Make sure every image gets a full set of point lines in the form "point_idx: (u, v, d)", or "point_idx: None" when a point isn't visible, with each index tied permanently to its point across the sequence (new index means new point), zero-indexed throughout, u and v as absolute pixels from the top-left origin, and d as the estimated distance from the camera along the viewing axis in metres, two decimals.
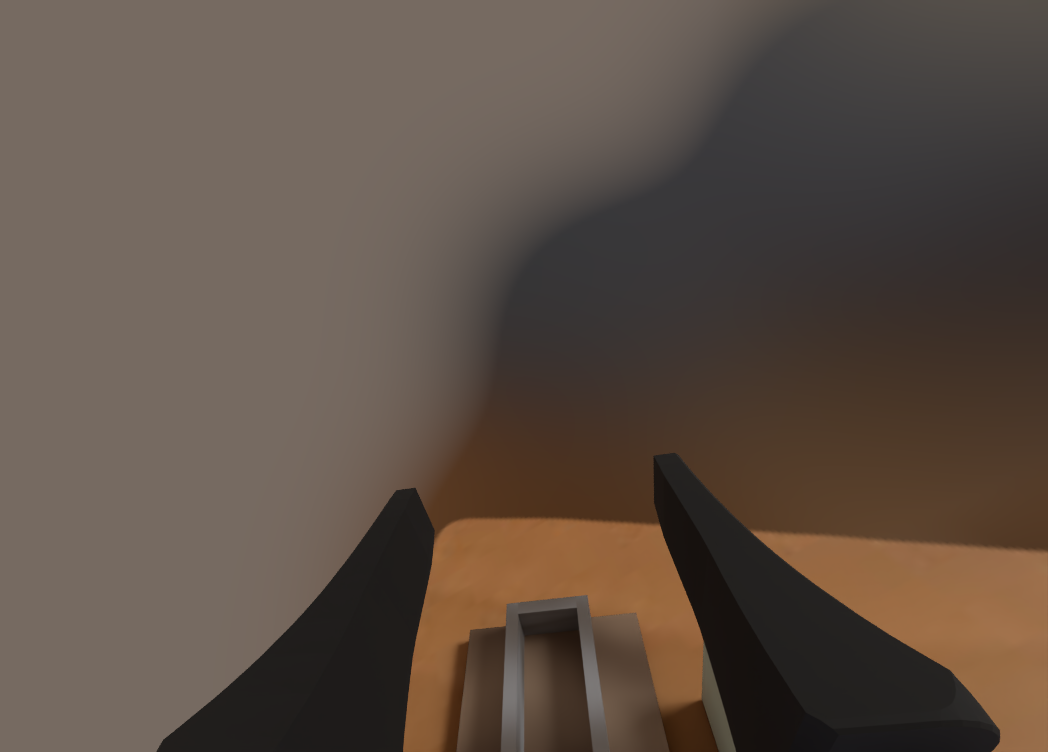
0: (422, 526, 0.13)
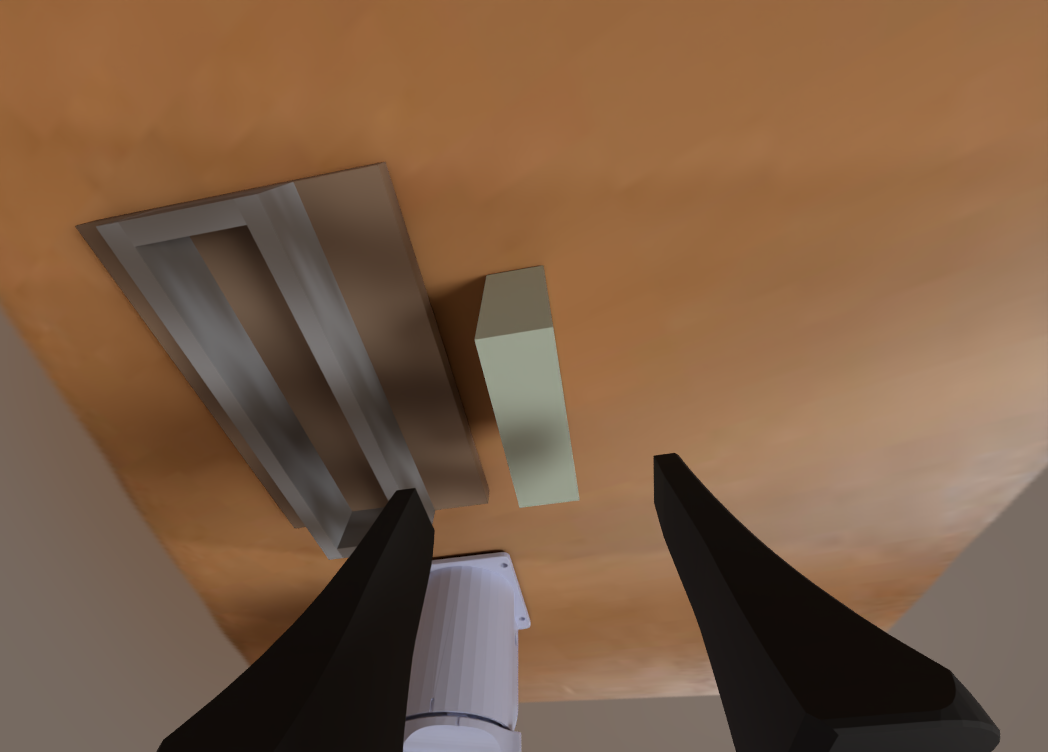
0: (422, 526, 0.13)
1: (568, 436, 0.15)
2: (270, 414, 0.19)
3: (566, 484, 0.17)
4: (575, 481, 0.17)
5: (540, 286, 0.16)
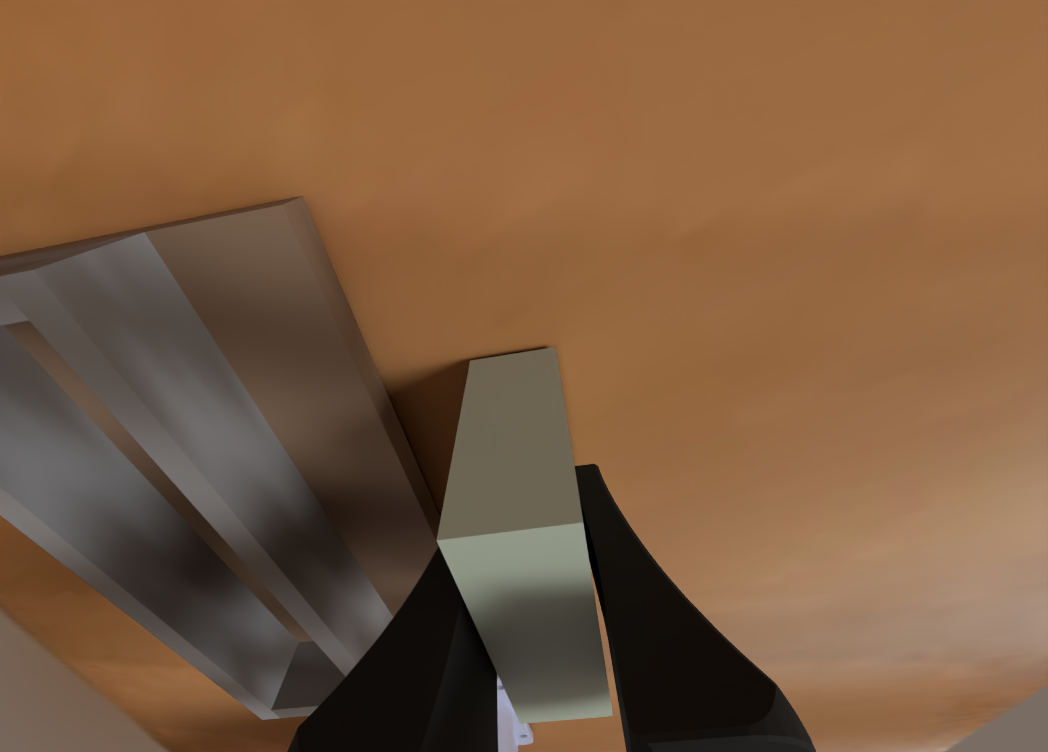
0: None
1: (601, 653, 0.09)
2: (156, 557, 0.13)
3: (594, 700, 0.11)
4: (608, 698, 0.11)
5: (553, 397, 0.10)
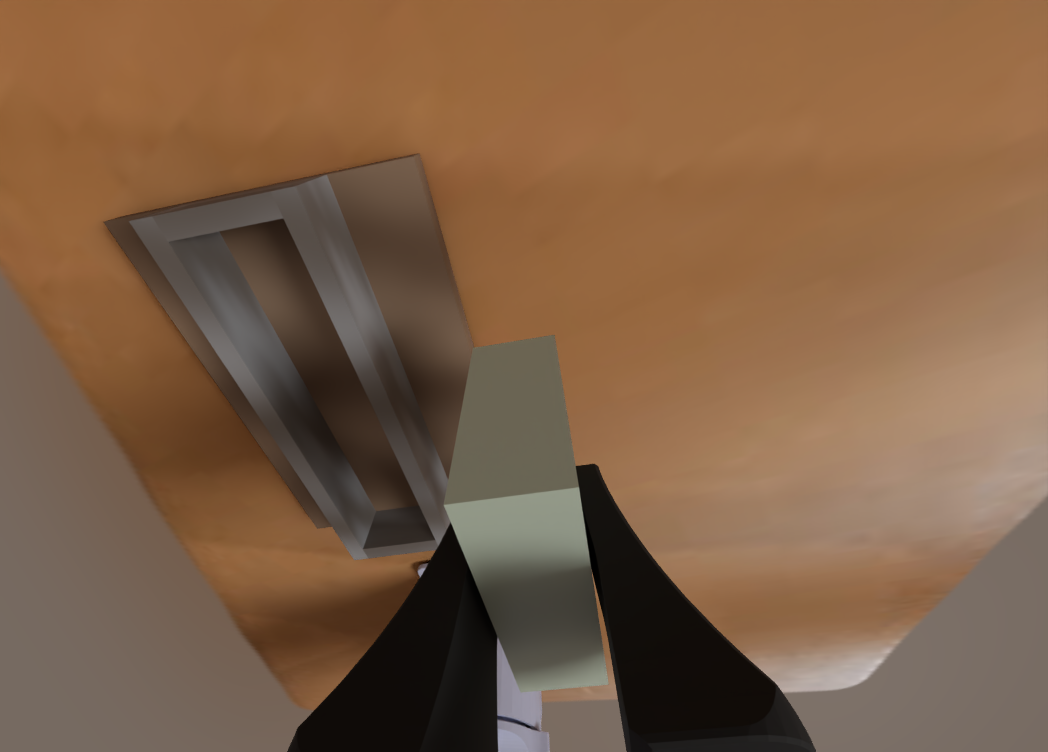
0: None
1: (597, 619, 0.10)
2: (298, 413, 0.19)
3: (590, 668, 0.11)
4: (604, 665, 0.11)
5: (552, 379, 0.11)
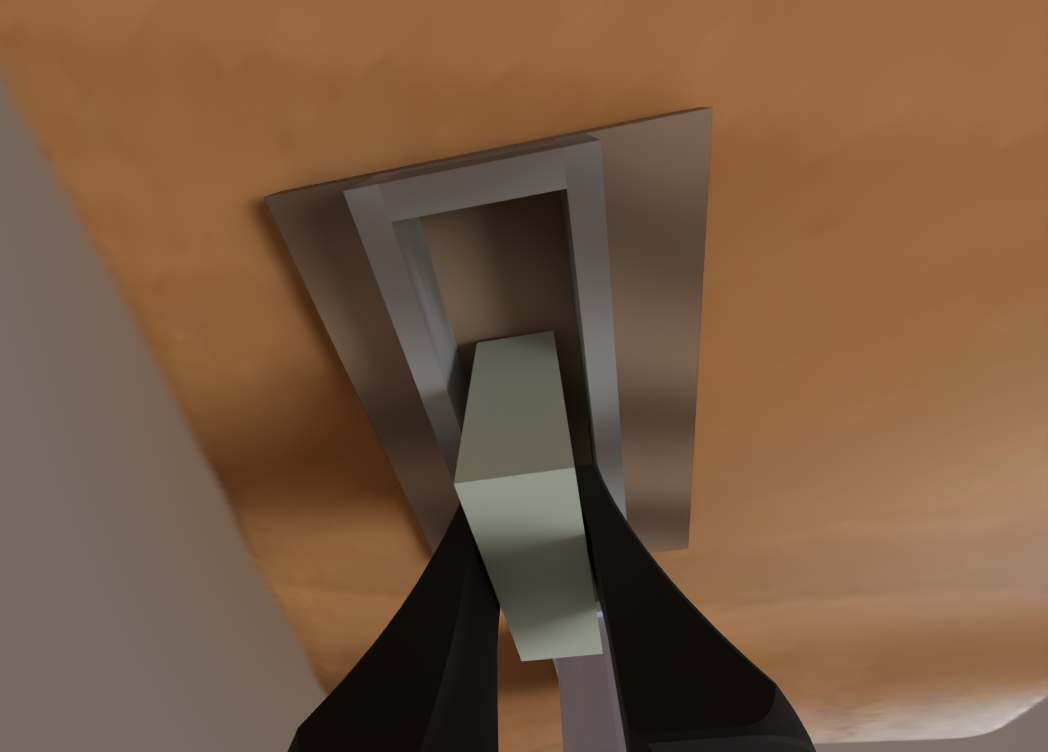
0: None
1: (592, 590, 0.11)
2: None
3: (586, 638, 0.12)
4: (598, 635, 0.12)
5: (551, 371, 0.12)
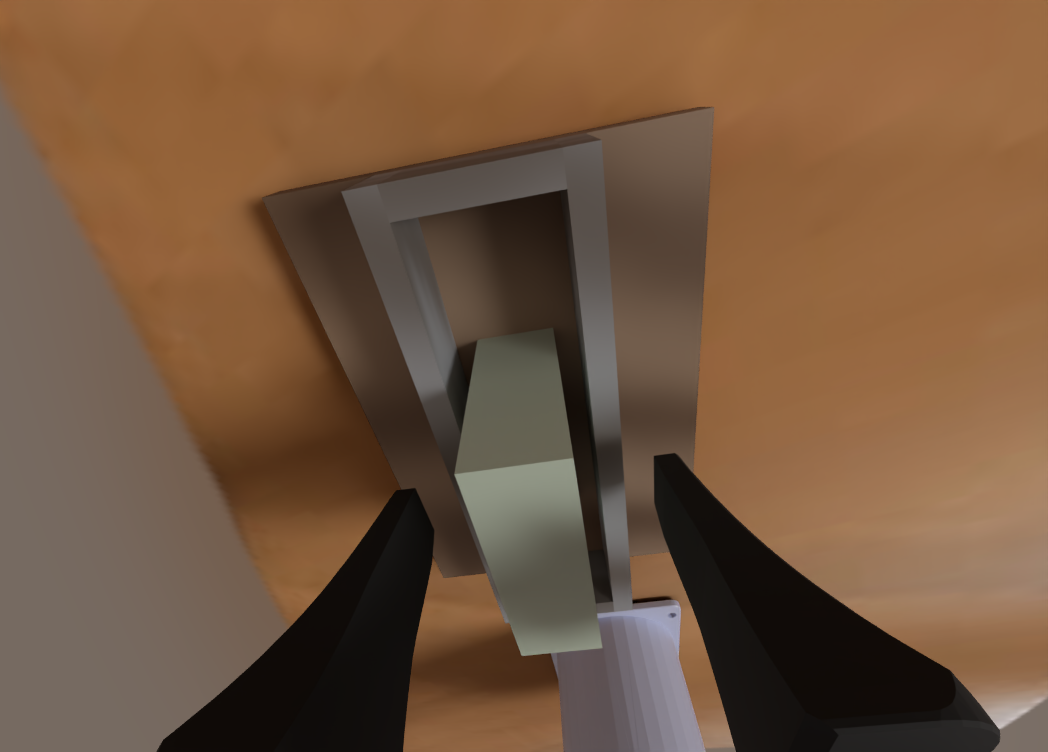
0: (422, 526, 0.13)
1: (591, 583, 0.11)
2: None
3: (585, 632, 0.12)
4: (598, 629, 0.12)
5: (550, 366, 0.12)
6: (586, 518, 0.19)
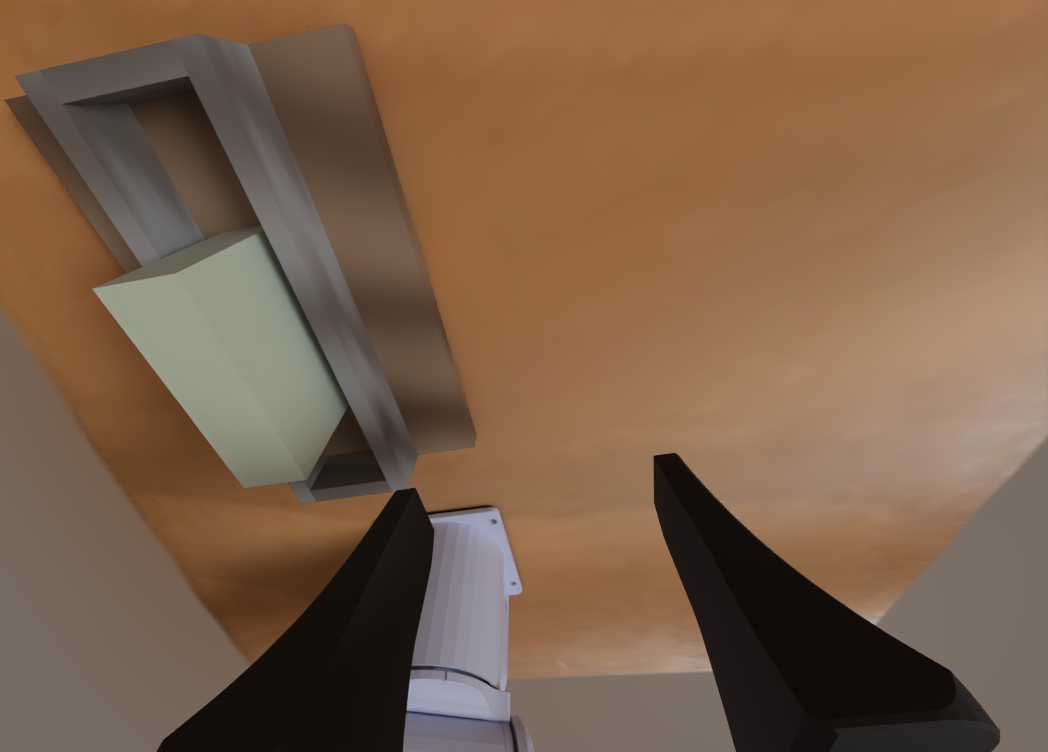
0: (422, 526, 0.13)
1: (257, 405, 0.14)
2: None
3: (282, 461, 0.15)
4: (291, 458, 0.15)
5: (241, 239, 0.14)
6: None
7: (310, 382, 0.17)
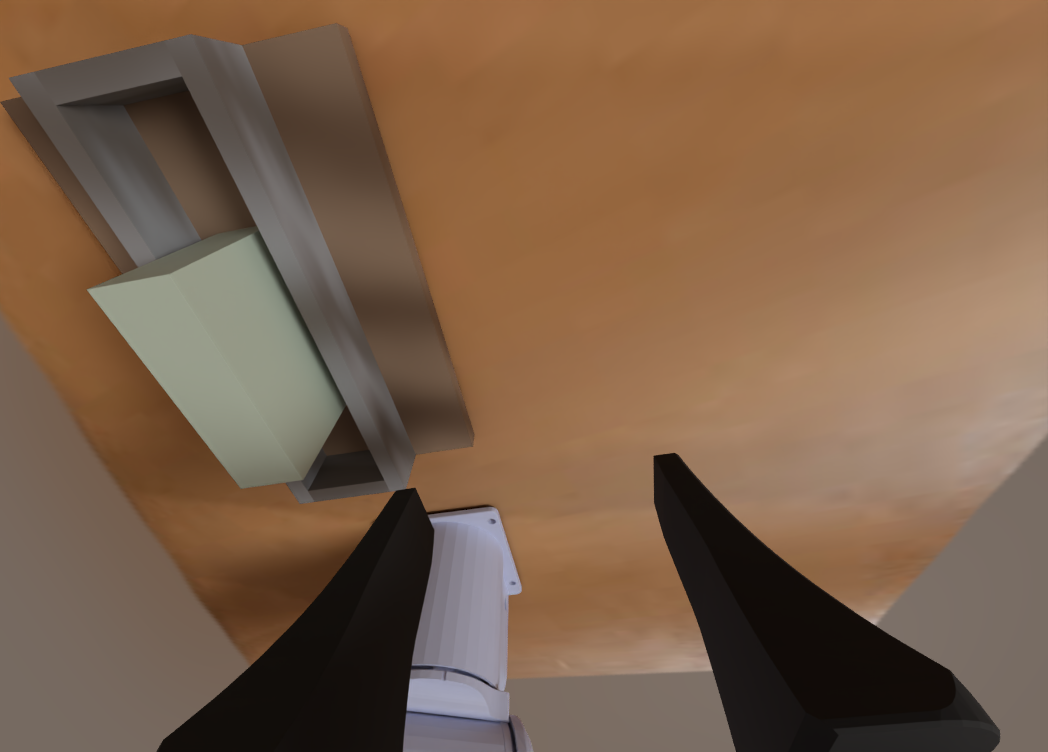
0: (422, 526, 0.13)
1: (253, 405, 0.14)
2: None
3: (279, 461, 0.15)
4: (288, 458, 0.15)
5: (236, 239, 0.14)
6: None
7: (306, 382, 0.17)
